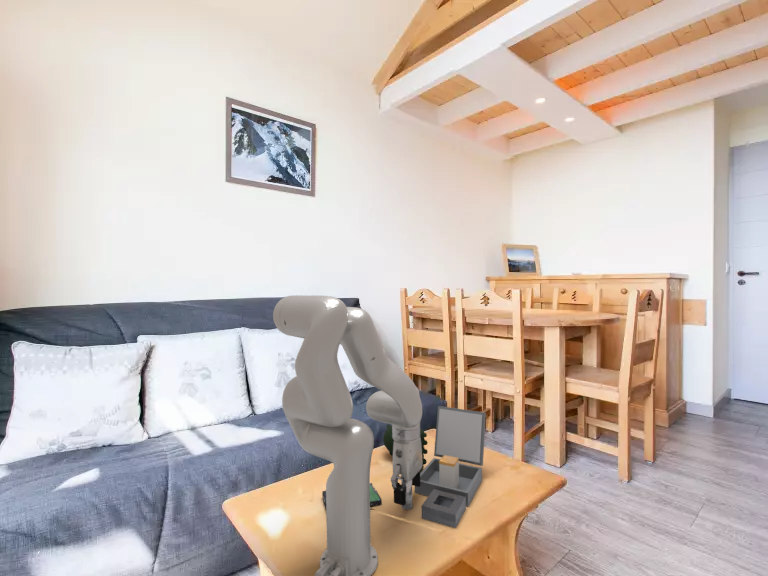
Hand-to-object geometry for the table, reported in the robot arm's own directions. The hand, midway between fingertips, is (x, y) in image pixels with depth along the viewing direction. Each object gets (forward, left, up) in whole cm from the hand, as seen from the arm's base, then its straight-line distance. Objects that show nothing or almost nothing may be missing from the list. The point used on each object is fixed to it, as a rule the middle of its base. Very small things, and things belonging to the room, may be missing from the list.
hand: (407, 494), depth 105 cm
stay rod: (-1, 0, -4) cm, 4 cm away
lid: (+24, -7, +9) cm, 27 cm away
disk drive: (-4, +15, -5) cm, 17 cm away
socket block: (+1, -10, -4) cm, 11 cm away
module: (+15, -7, -3) cm, 16 cm away
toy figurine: (+24, +12, -4) cm, 27 cm away
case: (+14, -7, -4) cm, 17 cm away
